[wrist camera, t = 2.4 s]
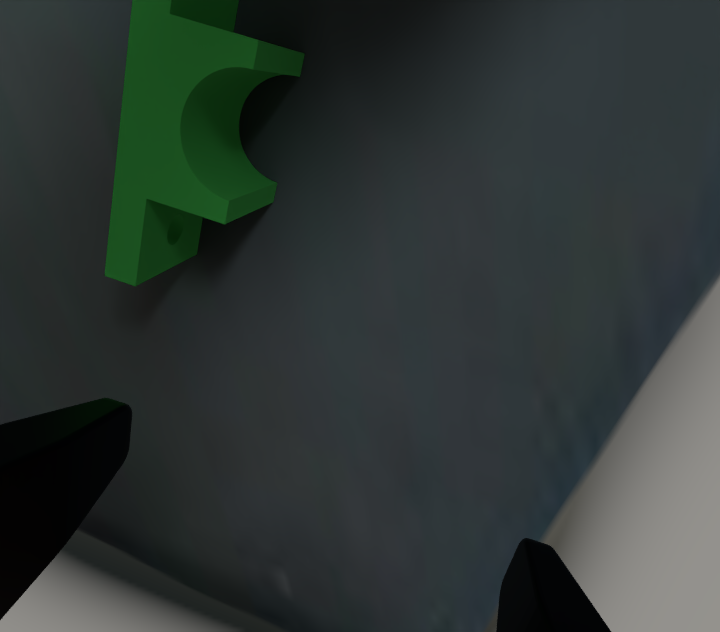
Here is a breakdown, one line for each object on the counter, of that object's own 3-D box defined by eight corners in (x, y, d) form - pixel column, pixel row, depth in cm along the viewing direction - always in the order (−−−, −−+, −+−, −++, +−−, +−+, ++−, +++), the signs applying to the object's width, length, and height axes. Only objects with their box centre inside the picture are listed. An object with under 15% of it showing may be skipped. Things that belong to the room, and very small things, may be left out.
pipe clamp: (260, 273, 21) (208, 314, 17) (173, 244, 21) (103, 277, 18) (328, -47, 17) (280, -90, 13) (220, -77, 17) (141, -129, 13)
